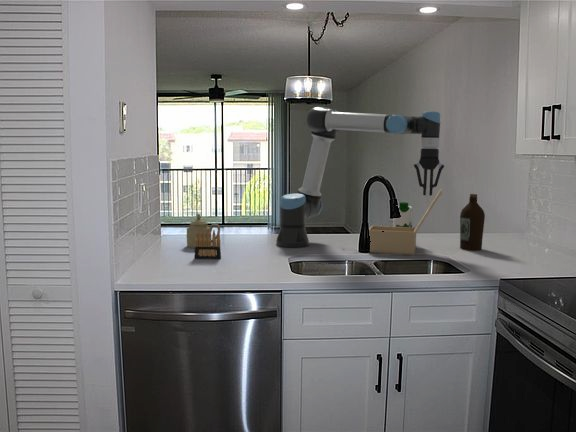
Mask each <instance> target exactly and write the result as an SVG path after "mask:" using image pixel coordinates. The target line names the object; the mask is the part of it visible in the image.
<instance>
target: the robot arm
mask: <svg viewBox="0 0 576 432" xmlns="http://www.w3.org/2000/svg"><path fill="white" fill-rule="evenodd" d="M305 123H306V127H307V128H308V129H309V130H310V135H311V136H312V138H313V139H312V142H311V145H310V146H311V147H310V151H309V154H308V160H307V164H306V169H305V172H304V177H303V180H302V181H303V182H302V186H301V187H299V188H298V189H297V193H288V194H284V195H282V196H281V198H280V203H279V212H280V213H279V215H280V217H279V218H280V219H279V220H280V221H279V224H280V225H279V226H280V228H279V230H278V231H279V232H278V234H277V238H276V240H275V241H276V244H275V245H276V246H278V247H284V248H303V247H304V248H305V247H308V246H310V245H309V244H310V243H309V241H310V240H309V237H308V233H307V231H306V230H307V229H306V221H307V220H311V219H314V218H317V216H319V215H320V213H321V212H322V209H323V201H322V196H323V195H322V193H321V191H320V190H321V186H322V181H323V177H324V172H325V169H326V166H327V165H326V164H327V160H328V156H329V152H330V148H331V145H332V144H331V143H332V142H333V141H335V140H336V136H337V133H338V132H339V131H355V132H356V131H358V132H370V133H371V132H374V133H387V134H394V135H395V134H399V135H421V137H420V147H421V148H420V158H419V160H418V162H417V163H414V164H413V167H414V169H415V170H416V175H417V180H418V186H419V187H420V188H421V187H422V192H423V193H422V195H423V196H425V201H424V202H425V204H430V196H433V190H434V189H433V188H436V187H438V183H439V180H440V177H441V173H442V170H443V169H444V167H445V164H443V163H442V162H440V159H439V154H440V151H439V148H440V133H441V131H440V130H441V114H440V111H429V110H428V111H422V115H419V116H415V115H414V116H411V115H410V116H408V115H402V114H383V113H382V114H381V113H367V112H366V113H365V112H364V113H362V112H346V111H345V112H342V111H338V109H337V110H336V109H335V108H333V107H327V106H326V107H325V106H316V107H312V108H311V109H310V110H309V111H308V112H307V114H306V115H305ZM420 167H422V169H423V181H422V176H421V171H420ZM436 168H438V171H437V173H436V177H435V180H434V170H435V169H436ZM428 170H429V172H430V173H429V174H430V175H429V187H427V186H428V185H427V181H428Z"/></svg>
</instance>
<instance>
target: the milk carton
mask: <svg viewBox="0 0 576 432" xmlns="http://www.w3.org/2000/svg"><path fill="white" fill-rule="evenodd" d="M397 206H398V208H399V212H400V215H401V217H400V218H393V219H392V220H393V221H392V227H410V228H413V213H414V212H413V206H411V205H409V202H403V201H402V202H399V204H398V205H397Z"/></svg>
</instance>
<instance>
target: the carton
mask: <svg viewBox="0 0 576 432" xmlns="http://www.w3.org/2000/svg"><path fill="white" fill-rule="evenodd" d="M368 229H369V236H370V241H371V242H370V252H376V254H385V255H386V254H387V255H402V256H403V255H406V256H414V255H415V253H416V250H417V248H416V247H417V246H416V245H417V232H416V231H415V230H416V227H412V228H410V227H393V226H386V225H385V226H384V225H371V226H370V227H369V228H368ZM382 231H384V232H382Z"/></svg>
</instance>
